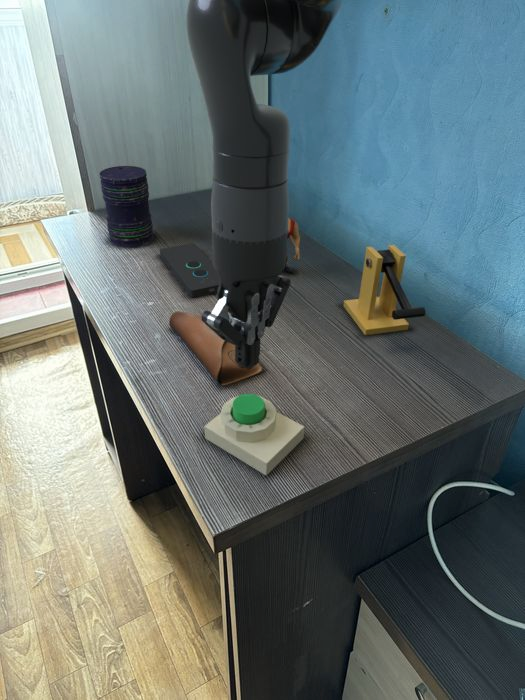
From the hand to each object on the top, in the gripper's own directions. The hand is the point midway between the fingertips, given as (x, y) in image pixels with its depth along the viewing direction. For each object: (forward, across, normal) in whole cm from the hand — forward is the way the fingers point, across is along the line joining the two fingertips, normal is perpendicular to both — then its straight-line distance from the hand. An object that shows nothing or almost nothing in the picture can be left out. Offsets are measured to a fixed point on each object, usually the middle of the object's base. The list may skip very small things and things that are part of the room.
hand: (247, 364), depth 61 cm
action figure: (+12, +40, +24) cm, 48 cm away
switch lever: (+4, +35, -3) cm, 35 cm away
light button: (+8, 0, 0) cm, 8 cm away
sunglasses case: (+12, +12, +16) cm, 23 cm away
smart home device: (+12, +29, +38) cm, 49 cm away
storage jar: (+12, +32, +60) cm, 69 cm away
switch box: (+12, 0, -1) cm, 12 cm away
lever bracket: (+12, +37, +1) cm, 39 cm away
